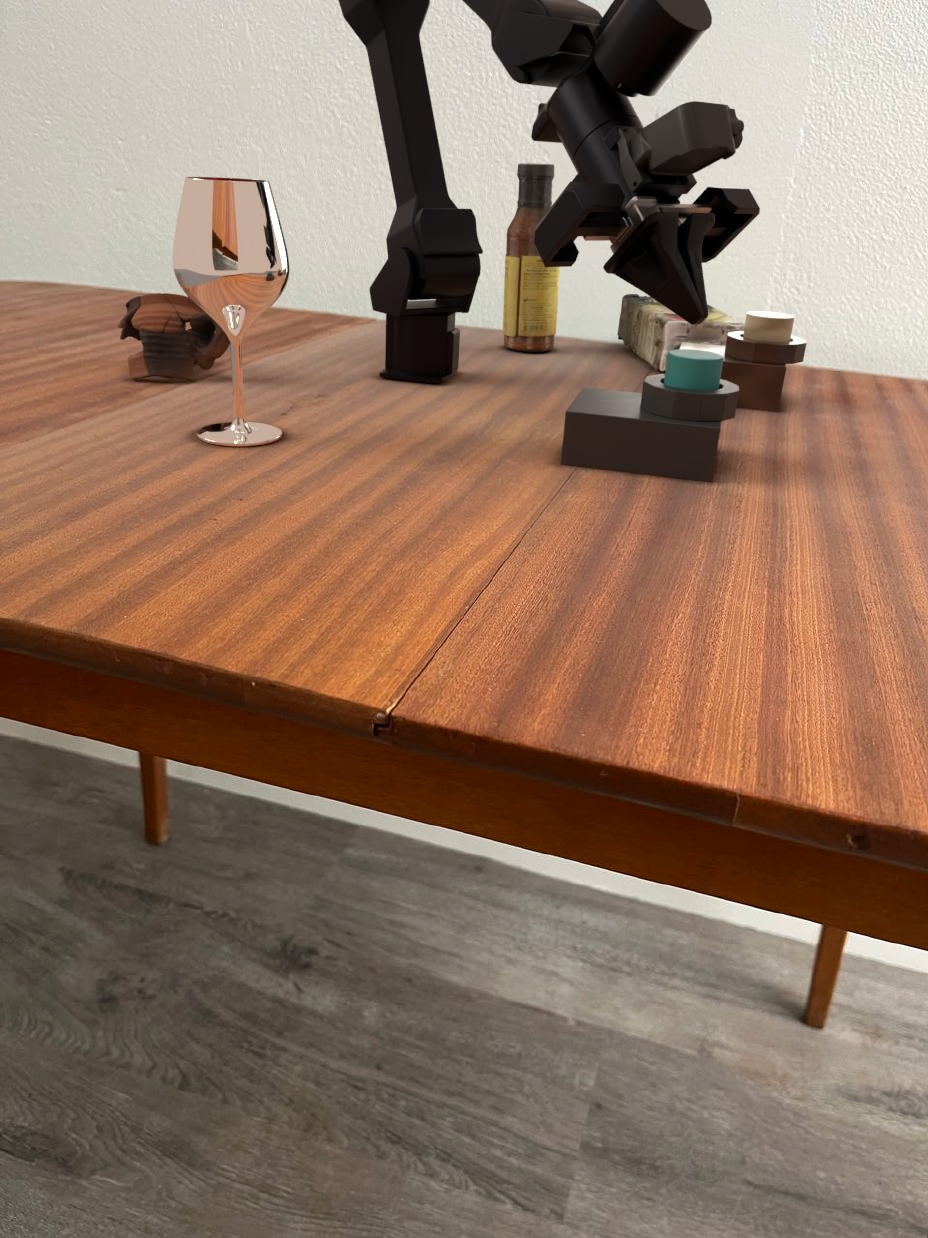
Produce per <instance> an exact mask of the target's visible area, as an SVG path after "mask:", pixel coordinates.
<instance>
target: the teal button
mask: <svg viewBox="0 0 928 1238" xmlns="http://www.w3.org/2000/svg"><path fill="white" fill-rule="evenodd" d="M723 359H724V357H723V356H722V355H720V354H717V353H713V352H709V351H702V350H691V349H677V350H671V351H669V352H668V356H667V364H666V371H664V374H665V378H664V384H665V385H667V386H671V387H676V388H681V389H690V390H700V391H701V390H718V389H719V384H720V378H721V372H722V366H723Z"/></svg>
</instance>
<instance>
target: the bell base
mask: <svg viewBox="0 0 928 1238" xmlns="http://www.w3.org/2000/svg"><path fill="white" fill-rule="evenodd" d="M743 333H744V331H736V332H729V333H728V334H727V340H726V346H722V345H711V344H700V343H689V342H682V343H681V346H680V349H691V350H702V351H709V352H713V353H717V354H720V355H722V356H723V357H724V359H723V366H722V372H721V378H720V379H722V380H726V381H729V382H731V383H733V384H736V385H738V386H739V396H738V402H737V408H736V409H744V410H745V409H747V410H755V411H763V412H764V411H765V412H776V413H778V412H779V409H780V404H781V399H782V394H783V388H784V383H785V377H786V371H787V365H795V364H799V363H803V362H804V358H805V353H806V348H807V343H808V342H807V341H806V339H805V338H802V337H798V336H795V335H791V339H790V342H766V341H757V340H751V339H746V338H743Z"/></svg>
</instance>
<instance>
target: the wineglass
mask: <svg viewBox="0 0 928 1238" xmlns="http://www.w3.org/2000/svg"><path fill="white" fill-rule="evenodd" d="M181 191H182V192H181V196H180V202H179V206H178V207H179V208H178V213H177V219H176V224H175V230H174V236H173V243H172V253H171V255H172V256H171V257H172V260H171V261H172V269H173V273H174V276H175V278H176V279H175V280H176V281H177V283H178V285H179V286H180V288H181V290H182V291H183V292H184V293H185V296H186V297H189V298H190V299H191V300H192V301H193V302H194V303H195V304H196V305H197V306H198V307H199V308H200V309H201V310H202V311H203V312H205V313H206V314H207V315H208V316H209V317H210V318H211V319H212V320H214V321H215V322H216V323H217V324H218V325H219V326H220V327H221V329H222V330H223V331H224V332H225V334H226V335H227V337H228V339H229V341H230V345H229V347H230V348H229V349H230V364H231V365H230V366H231V380H232V381H231V384H232V420H231V421H226V422H217V423H212V424H208V425H205V426H203V427H200V428H199V429H198V430H197V432H196V436H197V438H198V439H199V440H200V441H202V442H205V443H207V444H212V445H216V446H225V447H252V446H253V447H254V446H261V445H262V446H263V445H267V444H270V443H274V442H277V441H278V440H280V439H281V438H282V436H283V431H282V430H281V429H280V428H278V427H277V426H274V425H271V424H268V423H262V422H254V421H247V418H246V411H245V409H246V408H245V397H244V396H245V395H244V377H243V376H244V375H243V354H242V353H243V352H242V351H243V349H242V342H243V339H244V337H245V335H246V334H247V332H248V331H249V329H250V328H251V327H252V325H254V324H255V323H256V321H258V320H259V319H260V318H261V317H262V316H263V315H264V314H265V313H266V312H268V310H269V309H270V308H272V306H273V305H274V304H275V303H276V302H277V301H278V300H279V299H280V297H281V296H282V294H283V292H284V291H285V289H286V287H287V286H288V282H289V278H290V274H291V259H290V252H289V248H288V243H287V238H286V235H285V230H284V227H283V223H282V220H281V216H280V212H279V208H278V205H277V201H276V197H275V194H274V189H273V187H272V184H271V181H270V180H264V179H256V178H255V179H254V178H253V179H252V178H241V177H240V178H239V177H237V178H236V177H218V176H217V177H216V176H185V177H184V182H183V186H182V190H181Z"/></svg>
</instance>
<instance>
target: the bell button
mask: <svg viewBox="0 0 928 1238" xmlns="http://www.w3.org/2000/svg"><path fill="white" fill-rule="evenodd" d="M794 322H795V316H794V315H792V314H788V313H783V312H776V311H767V310H766V311H763V310H754V311H753V310H751V311H747V312H746V314H745V321H744V324H745V327H744V333H743V338H746V339H751V340H757V341H766V342H790V339H791V336H792V333H793V328H794V324H795V323H794Z"/></svg>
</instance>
